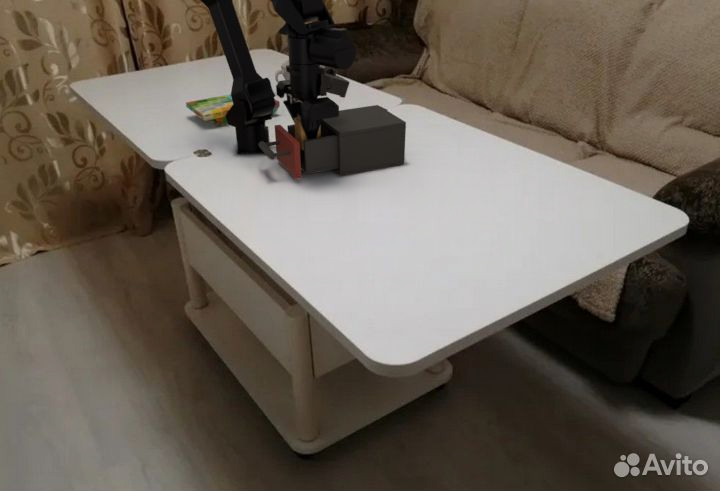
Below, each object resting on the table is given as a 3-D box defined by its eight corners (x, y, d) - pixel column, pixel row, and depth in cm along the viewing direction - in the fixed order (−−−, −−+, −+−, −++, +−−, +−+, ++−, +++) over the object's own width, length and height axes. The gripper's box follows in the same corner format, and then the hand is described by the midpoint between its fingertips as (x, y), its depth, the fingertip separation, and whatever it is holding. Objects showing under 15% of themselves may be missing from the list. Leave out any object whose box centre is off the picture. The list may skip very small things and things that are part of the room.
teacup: (314, 82, 178) (313, 55, 173) (334, 93, 168) (333, 64, 164) (268, 89, 171) (265, 61, 167) (285, 101, 162) (283, 71, 158)
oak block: (321, 147, 118) (320, 120, 116) (302, 150, 117) (301, 123, 114) (313, 140, 122) (312, 114, 119) (295, 143, 120) (294, 117, 117)
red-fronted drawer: (274, 183, 114) (271, 147, 110) (257, 162, 122) (253, 128, 119) (358, 167, 120) (358, 133, 116) (336, 148, 129) (335, 116, 125)
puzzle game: (278, 97, 148) (201, 111, 139) (280, 116, 151) (204, 130, 141) (259, 86, 157) (185, 99, 147) (260, 104, 159) (188, 117, 150)
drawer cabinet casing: (340, 176, 118) (339, 132, 114) (316, 154, 128) (315, 113, 124) (404, 164, 124) (406, 122, 119) (377, 144, 134) (377, 104, 129)
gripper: (364, 68, 107) (364, 150, 114) (325, 47, 121) (327, 121, 129) (306, 74, 102) (310, 159, 110) (272, 52, 117) (278, 128, 125)
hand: (307, 140), depth 119 cm, fingers closed on oak block, 4 cm apart
